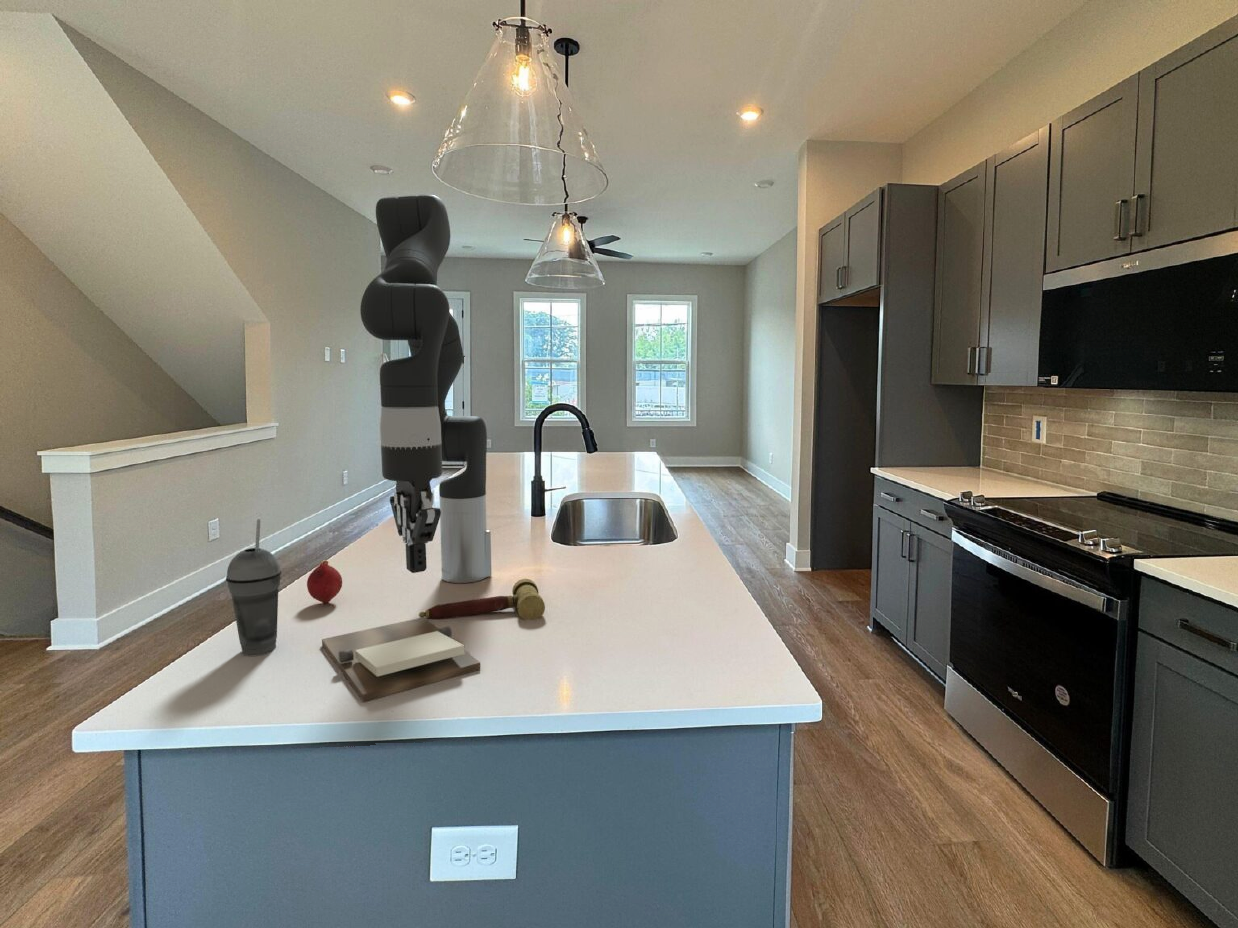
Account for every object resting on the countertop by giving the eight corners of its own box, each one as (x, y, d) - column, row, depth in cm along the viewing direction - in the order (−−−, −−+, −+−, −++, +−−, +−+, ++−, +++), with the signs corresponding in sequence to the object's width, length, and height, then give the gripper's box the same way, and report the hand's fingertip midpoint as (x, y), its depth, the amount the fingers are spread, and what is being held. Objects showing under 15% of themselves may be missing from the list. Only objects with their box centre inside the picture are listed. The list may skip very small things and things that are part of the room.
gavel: (416, 612, 106) (418, 592, 116) (419, 639, 107) (421, 617, 117) (544, 594, 112) (536, 576, 121) (546, 619, 112) (537, 600, 122)
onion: (329, 609, 116) (327, 565, 115) (300, 607, 117) (298, 563, 116) (349, 599, 121) (347, 557, 120) (321, 596, 122) (319, 555, 121)
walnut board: (424, 622, 110) (423, 606, 109) (480, 669, 92) (480, 650, 92) (322, 645, 100) (321, 627, 100) (363, 701, 83) (362, 680, 82)
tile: (463, 645, 91) (464, 654, 91) (437, 630, 99) (438, 639, 99) (376, 667, 84) (377, 677, 84) (355, 650, 92) (355, 659, 92)
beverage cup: (245, 640, 102) (236, 514, 99) (294, 639, 102) (286, 514, 100) (221, 660, 95) (211, 525, 92) (273, 658, 95) (264, 524, 93)
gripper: (459, 444, 82) (463, 578, 84) (421, 436, 92) (426, 555, 95) (399, 448, 77) (405, 589, 80) (366, 439, 88) (372, 564, 90)
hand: (416, 570), depth 87 cm, fingers closed
